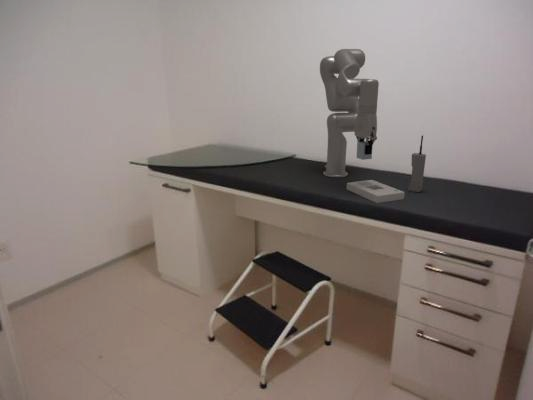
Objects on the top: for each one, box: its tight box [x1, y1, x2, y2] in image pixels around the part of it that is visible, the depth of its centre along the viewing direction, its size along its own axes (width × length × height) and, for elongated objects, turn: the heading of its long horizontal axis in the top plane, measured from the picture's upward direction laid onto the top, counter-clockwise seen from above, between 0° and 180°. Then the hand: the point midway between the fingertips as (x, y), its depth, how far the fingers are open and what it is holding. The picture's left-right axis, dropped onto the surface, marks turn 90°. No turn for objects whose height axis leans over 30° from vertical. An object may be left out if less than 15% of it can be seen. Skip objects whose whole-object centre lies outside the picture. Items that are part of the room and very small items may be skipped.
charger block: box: [356, 140, 374, 161], centre depth 172 cm, size 5×5×7 cm
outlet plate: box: [346, 179, 406, 204], centre depth 175 cm, size 22×14×3 cm, turn 23°
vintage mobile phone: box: [407, 135, 427, 193], centre depth 177 cm, size 4×5×25 cm
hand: (364, 152), depth 172 cm, fingers closed on charger block, 4 cm apart
